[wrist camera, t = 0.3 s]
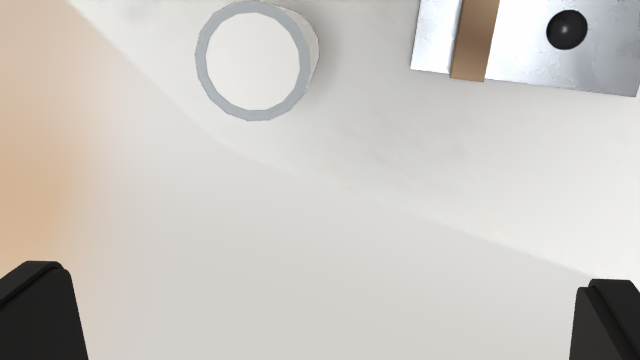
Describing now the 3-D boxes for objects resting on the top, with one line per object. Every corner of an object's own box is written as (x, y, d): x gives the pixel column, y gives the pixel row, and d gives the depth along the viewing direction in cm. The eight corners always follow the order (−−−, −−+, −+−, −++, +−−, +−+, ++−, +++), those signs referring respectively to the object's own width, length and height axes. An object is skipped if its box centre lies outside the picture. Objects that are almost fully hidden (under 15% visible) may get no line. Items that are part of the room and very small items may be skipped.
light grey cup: (347, 31, 37) (333, 41, 31) (298, 117, 40) (275, 143, 33) (258, -23, 37) (225, -25, 31) (214, 67, 40) (175, 83, 33)
